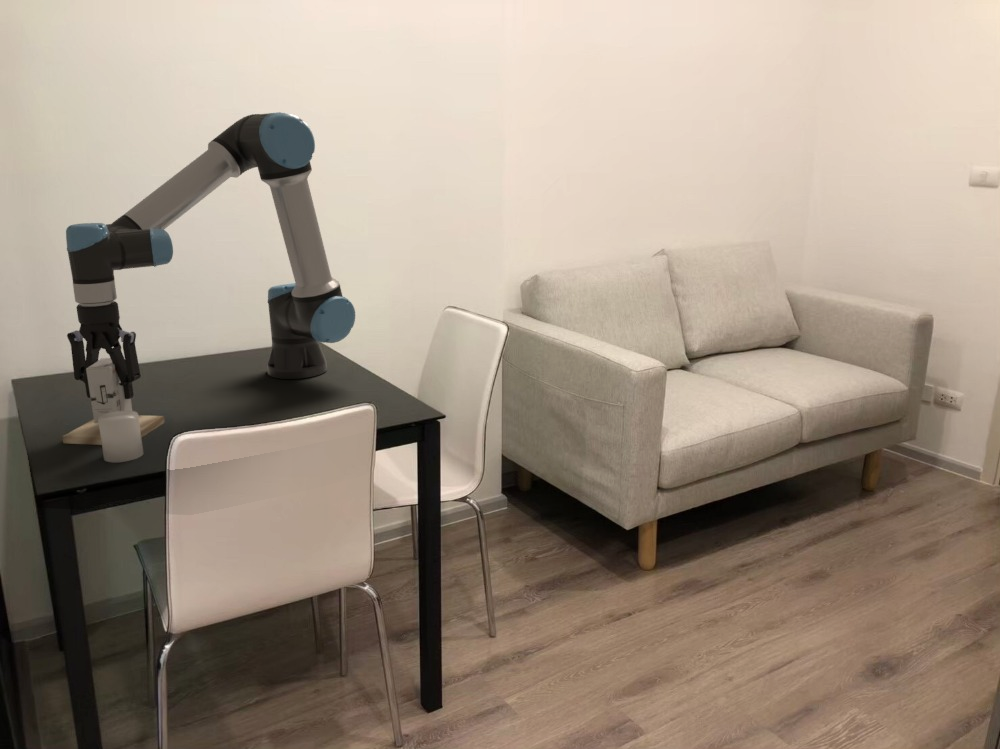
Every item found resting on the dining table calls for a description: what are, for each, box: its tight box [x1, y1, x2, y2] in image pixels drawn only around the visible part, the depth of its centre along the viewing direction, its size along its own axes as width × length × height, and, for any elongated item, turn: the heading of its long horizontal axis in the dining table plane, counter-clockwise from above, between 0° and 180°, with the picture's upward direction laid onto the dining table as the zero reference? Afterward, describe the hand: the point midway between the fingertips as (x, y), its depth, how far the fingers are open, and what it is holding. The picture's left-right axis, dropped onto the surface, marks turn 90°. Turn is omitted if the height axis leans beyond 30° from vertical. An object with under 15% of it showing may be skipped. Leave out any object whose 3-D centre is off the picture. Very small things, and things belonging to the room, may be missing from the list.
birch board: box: [62, 414, 165, 446], centre depth 173 cm, size 14×14×2 cm
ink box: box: [86, 357, 125, 423], centre depth 171 cm, size 9×5×12 cm, turn 5°
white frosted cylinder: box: [98, 410, 144, 463], centre depth 160 cm, size 7×7×8 cm
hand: (112, 412), depth 172 cm, fingers closed on ink box, 6 cm apart
